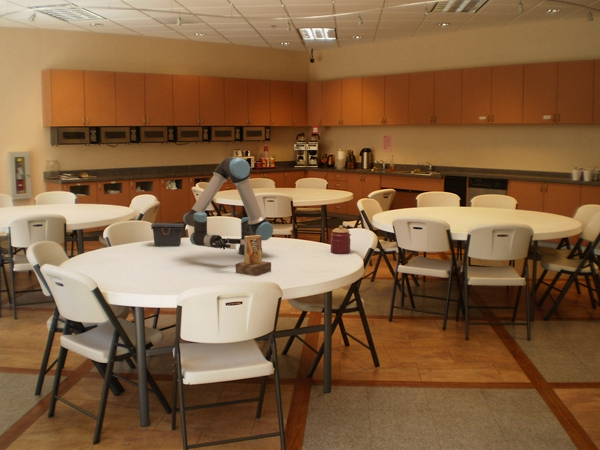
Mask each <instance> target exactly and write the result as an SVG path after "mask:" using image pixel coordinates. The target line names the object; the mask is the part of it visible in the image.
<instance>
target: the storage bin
mask: <svg viewBox="0 0 600 450" xmlns="http://www.w3.org/2000/svg"><path fill="white" fill-rule="evenodd" d="M184 224H185V223H171V222H170V223H166V222H165V223H164V222H161V223H159V222H155V223H152V224H151V225H150V226H151V227H150V229H151V230H152V235H153V242H154V243H153V244H154V246H155V247H180V245H181V242H182V231H183V228H184Z"/></svg>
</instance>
